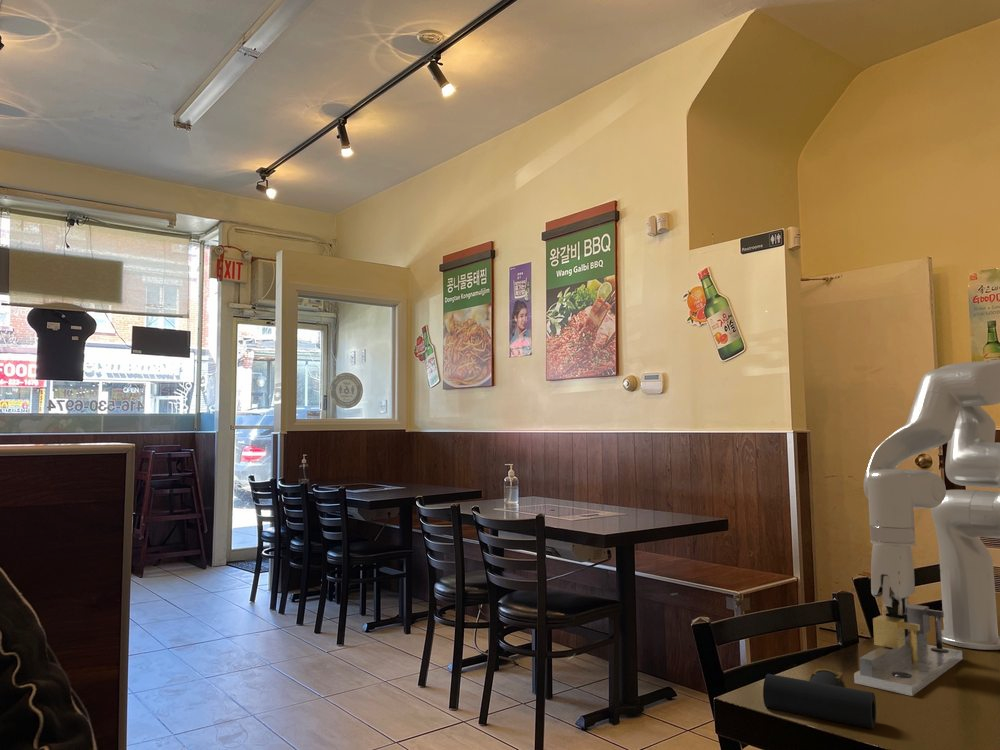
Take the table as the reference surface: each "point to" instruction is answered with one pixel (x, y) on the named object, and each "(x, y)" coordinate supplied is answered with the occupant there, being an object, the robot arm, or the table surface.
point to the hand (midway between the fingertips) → (897, 635)
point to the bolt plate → (905, 666)
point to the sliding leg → (895, 634)
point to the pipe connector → (821, 698)
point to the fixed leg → (925, 620)
